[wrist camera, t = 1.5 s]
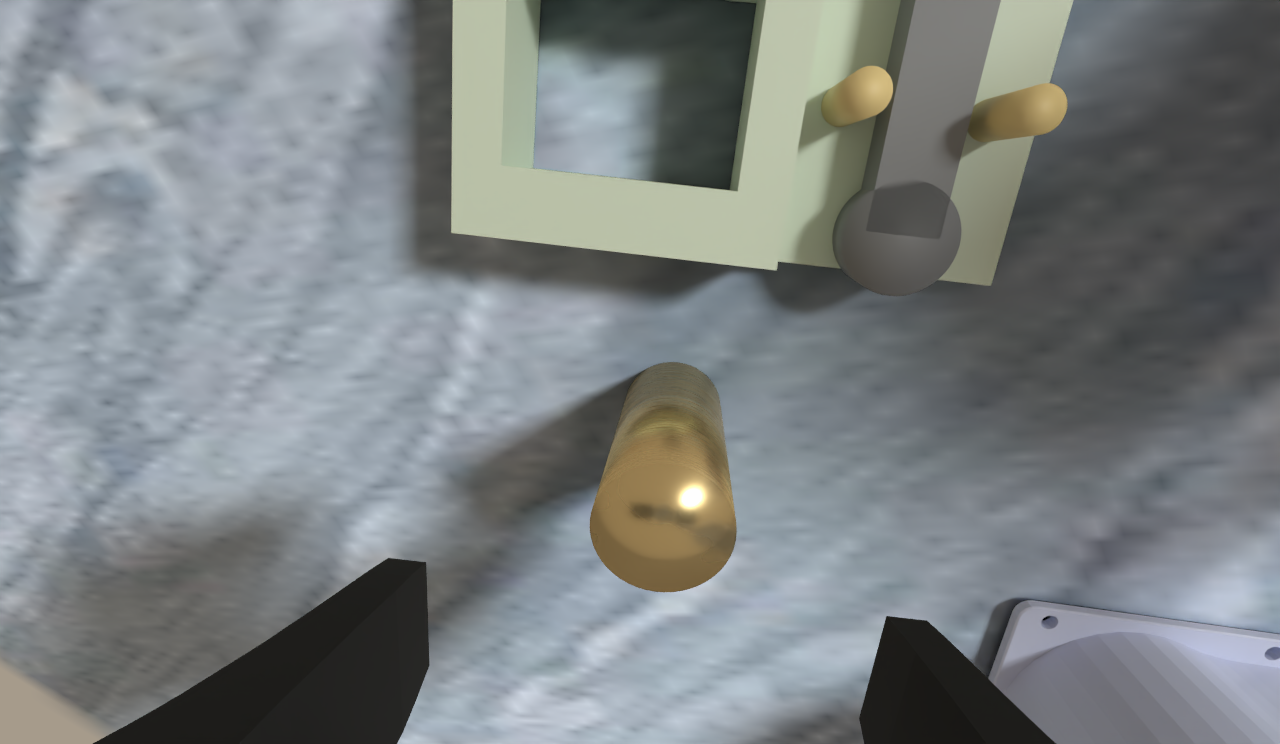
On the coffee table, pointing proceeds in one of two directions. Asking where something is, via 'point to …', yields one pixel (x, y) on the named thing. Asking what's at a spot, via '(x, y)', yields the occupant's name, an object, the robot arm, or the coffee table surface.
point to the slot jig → (791, 142)
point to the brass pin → (666, 484)
